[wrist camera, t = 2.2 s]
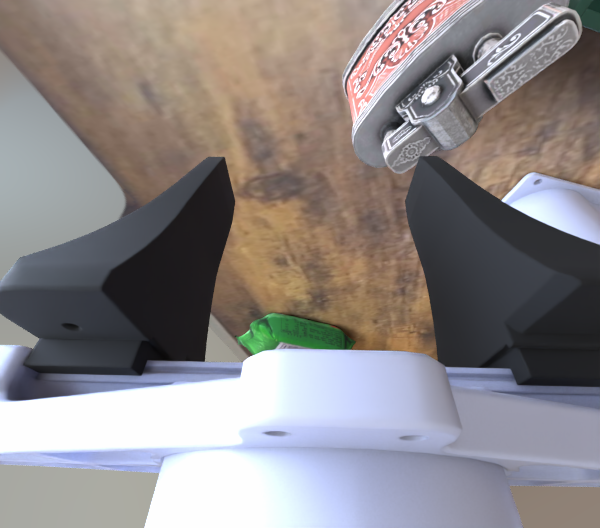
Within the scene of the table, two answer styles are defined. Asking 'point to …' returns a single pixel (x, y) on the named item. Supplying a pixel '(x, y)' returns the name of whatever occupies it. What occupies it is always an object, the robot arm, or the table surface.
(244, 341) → the snack package
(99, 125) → the table surface
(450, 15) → the lighter
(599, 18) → the green open box
